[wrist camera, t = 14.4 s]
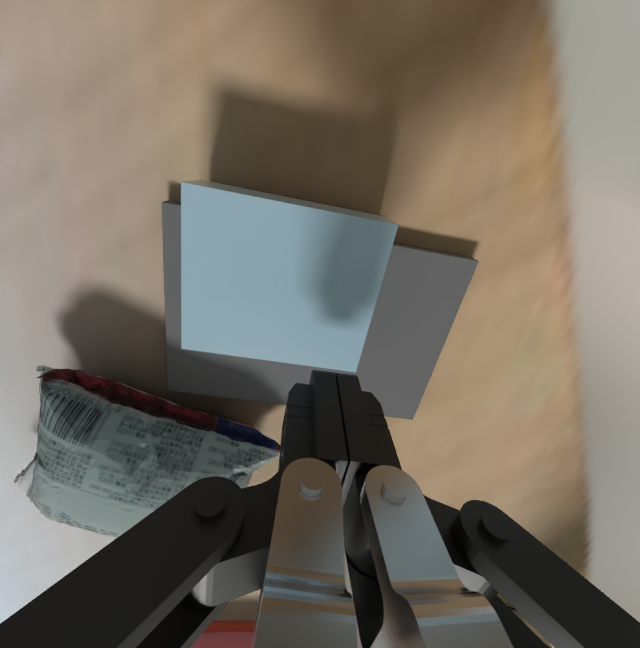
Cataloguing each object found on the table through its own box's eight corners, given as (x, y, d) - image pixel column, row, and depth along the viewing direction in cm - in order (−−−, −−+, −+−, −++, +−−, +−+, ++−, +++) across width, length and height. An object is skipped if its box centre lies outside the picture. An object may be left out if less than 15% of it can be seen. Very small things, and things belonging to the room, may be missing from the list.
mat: (471, 257, 14) (478, 261, 13) (409, 411, 18) (412, 419, 17) (167, 200, 12) (161, 202, 12) (171, 383, 16) (167, 390, 16)
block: (355, 372, 13) (398, 224, 10) (181, 348, 12) (181, 181, 10) (349, 345, 15) (383, 216, 12) (198, 323, 14) (202, 179, 12)
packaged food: (234, 506, 21) (216, 595, 17) (41, 453, 18) (-44, 543, 14) (289, 415, 18) (285, 495, 13) (66, 334, 15) (-33, 401, 11)
